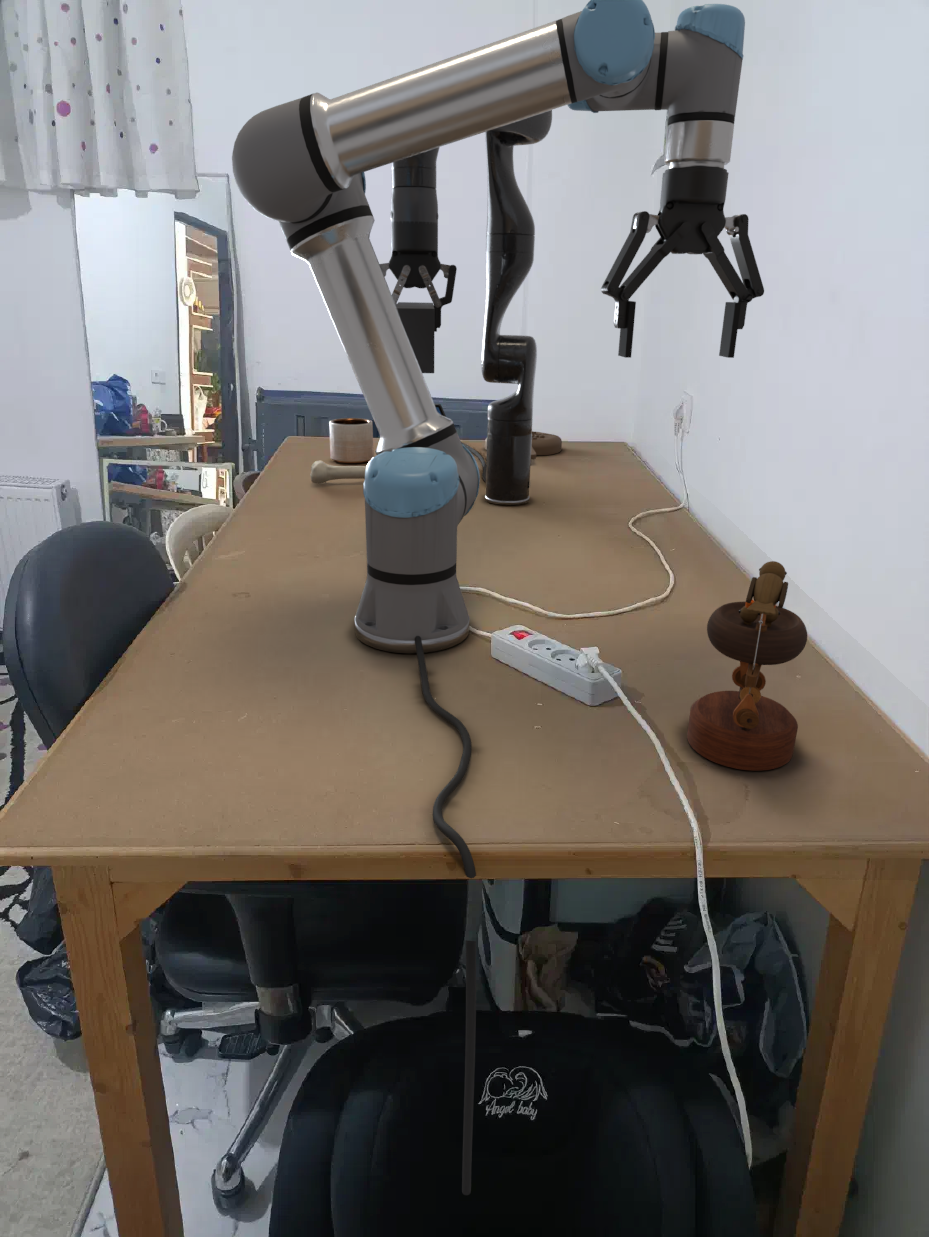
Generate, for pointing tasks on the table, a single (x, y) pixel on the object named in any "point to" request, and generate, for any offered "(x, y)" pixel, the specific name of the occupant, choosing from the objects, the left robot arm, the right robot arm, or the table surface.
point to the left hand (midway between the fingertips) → (675, 357)
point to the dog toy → (335, 472)
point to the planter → (351, 440)
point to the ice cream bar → (543, 444)
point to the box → (419, 331)
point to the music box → (750, 679)
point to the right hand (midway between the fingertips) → (415, 330)
